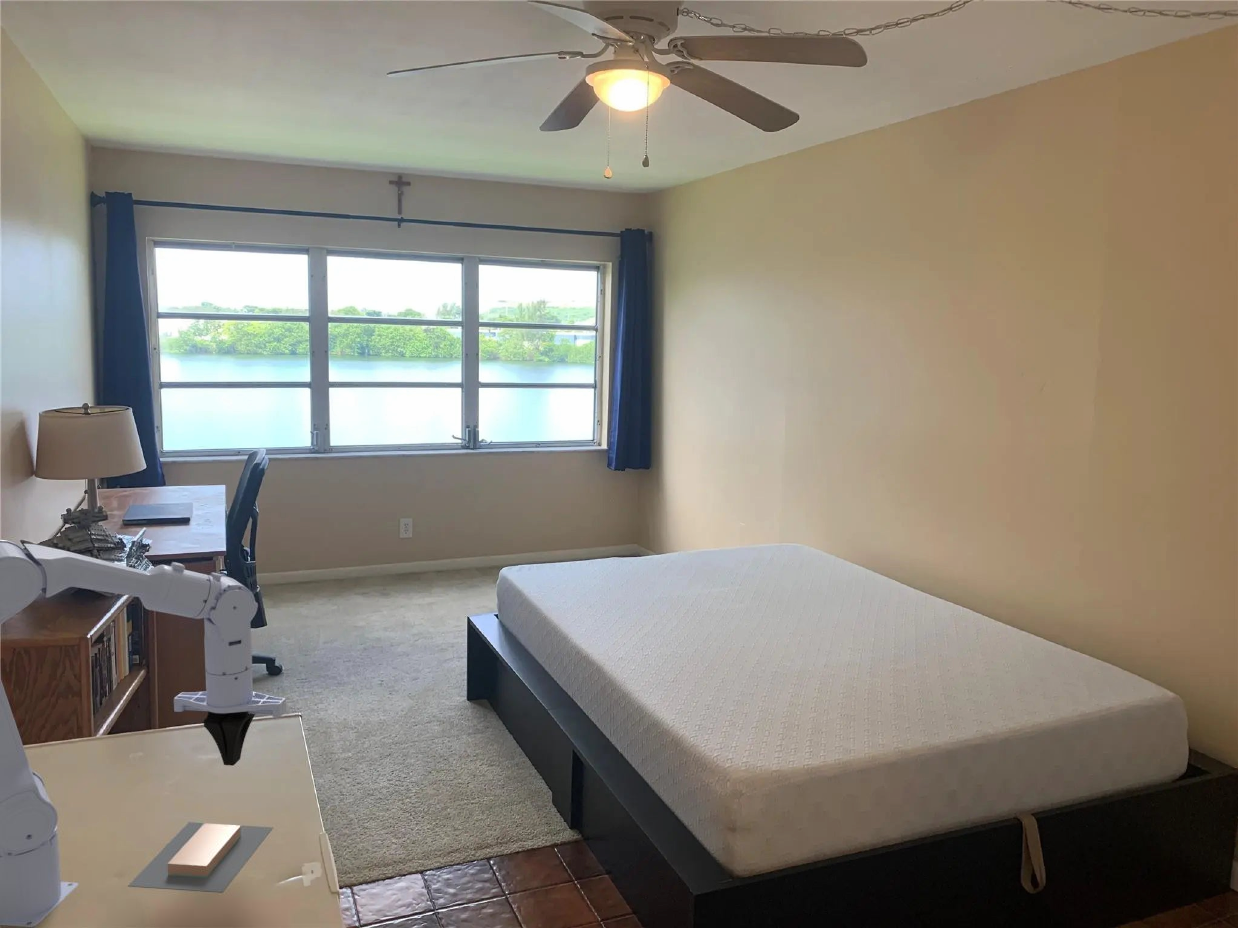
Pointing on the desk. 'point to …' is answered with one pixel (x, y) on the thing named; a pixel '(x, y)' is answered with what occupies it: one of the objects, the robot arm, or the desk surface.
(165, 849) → the mat
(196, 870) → the tan wooden block
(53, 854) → the robot arm
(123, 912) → the desk surface
